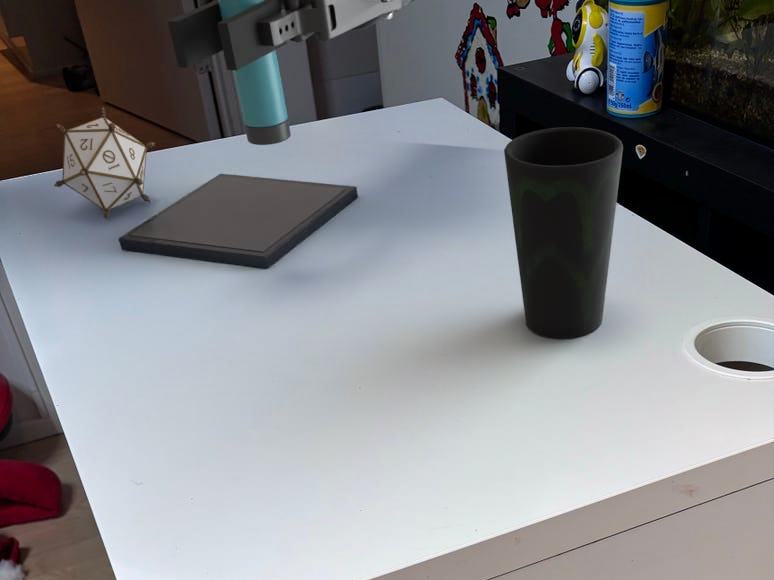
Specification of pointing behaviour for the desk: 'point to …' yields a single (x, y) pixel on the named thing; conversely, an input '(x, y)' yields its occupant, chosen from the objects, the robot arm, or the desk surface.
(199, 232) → the plate
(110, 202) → the game die
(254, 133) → the teal cylinder
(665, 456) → the desk surface
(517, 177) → the cup
